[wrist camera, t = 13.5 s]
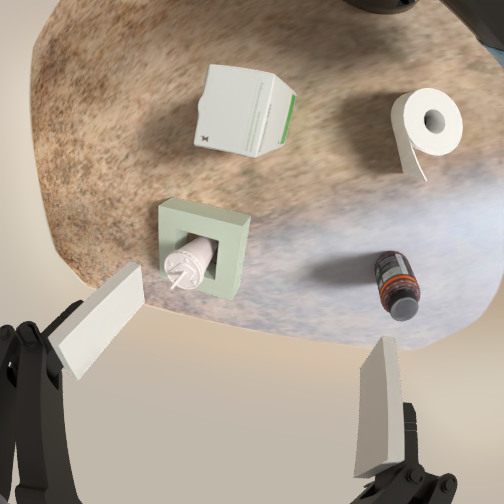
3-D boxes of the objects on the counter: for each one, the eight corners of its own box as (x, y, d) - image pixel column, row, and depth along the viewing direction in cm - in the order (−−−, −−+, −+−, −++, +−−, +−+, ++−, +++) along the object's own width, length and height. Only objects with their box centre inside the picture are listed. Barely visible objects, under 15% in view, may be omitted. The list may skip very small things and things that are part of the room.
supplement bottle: (410, 276, 39) (426, 321, 30) (377, 285, 42) (386, 332, 32) (405, 245, 37) (424, 286, 28) (370, 255, 40) (379, 299, 30)
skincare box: (284, 146, 36) (257, 164, 23) (240, 135, 37) (189, 148, 24) (298, 91, 32) (278, 73, 18) (252, 81, 32) (205, 63, 19)
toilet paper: (402, 173, 33) (416, 185, 27) (383, 96, 29) (394, 91, 23) (450, 165, 30) (471, 175, 24) (433, 89, 26) (453, 85, 20)
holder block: (172, 197, 44) (158, 205, 41) (251, 215, 42) (242, 226, 39) (171, 264, 52) (160, 277, 48) (239, 286, 49) (231, 300, 46)
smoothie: (228, 258, 47) (194, 308, 35) (197, 259, 49) (157, 306, 38) (220, 224, 45) (178, 267, 33) (187, 227, 47) (141, 268, 35)
